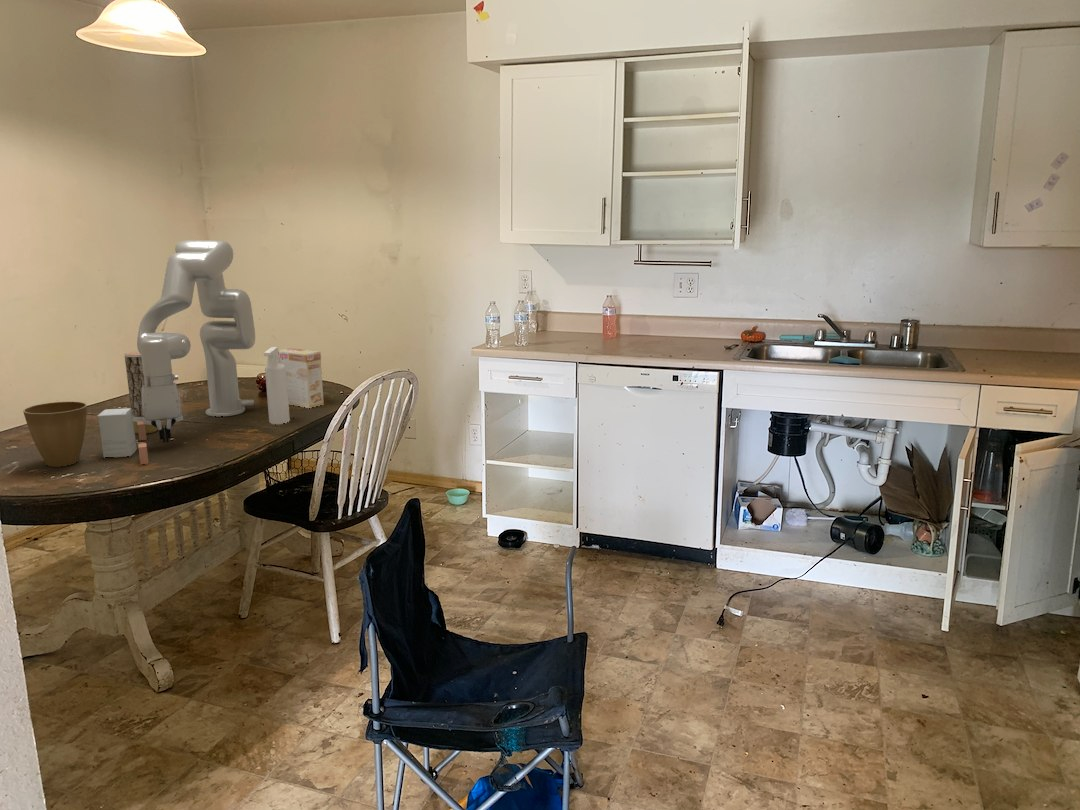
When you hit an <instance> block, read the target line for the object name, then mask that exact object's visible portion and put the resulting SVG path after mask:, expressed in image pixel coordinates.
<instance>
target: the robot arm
mask: <svg viewBox="0 0 1080 810" xmlns="http://www.w3.org/2000/svg"><path fill="white" fill-rule="evenodd" d="M174 249H175V252H174V253H172V254H171V255H170V256H169V257H168V258H167V262H166V268H165V274H164V279H163V285H162V289H161V295H160V298H159V299H158V300H157V301H156V302H155V303H154V304H152V306H151V307H149V308H148V310H146V313H145V314H144V315H143V316H142V318H141V320H140V323H139V327H138V328H139V329H138V333H137V338H136V339H137V340H136V347H137V352H139V353H140V354H141V358H142V367H143V375H144V383H145V385H143V386H142V410H143V415H144V418H143V424H148V425H153V426H154V427H156V428H157V430H158V435H159V440H161V441H162V443H163V444H166V443H169V442H170V440H171V438H172V436H171V435H172V434H171V429H172V427H173V425H174V424H175V423H177V422H180V421H183V420H184V416H183V414H182V404H181V398H180V393H179V388H178V386H177V383H176V382H175V381H176V380H177V381H178V380H179V376H178V374H173V369H172V368H173V367H172V360H179V359H182V358H185V357H187V355H188V354H189V353H190V350H191V346H192V345H191V341H190V339H189V338H188V337H187V335H185V334H183V333H179V332H156V331H157V329H158V327H159V325H160V324H161V323H162V322H163V321H164V320H166V319H167V318H169V317H171V316H173V315H176V314H178V313H180V312H182V311H184V310H187V309H188V308H190V307H191V305H192V302H193V297H194V291H195V285H196V289H197V296H198V301H199V307H200V310H201V313H202V314H203V315H204V316H205V317H206V318H215V319H221V318H222V319H233V320H211V321H209V320H208V321H207V322H205V323H203V324H202V326H201V327H200V329H199V337H200V342H201V345H202V349H203V352H204V353H203V354H204V357H205V366H206V368H205V369H206V378H207V386H208V387H207V388H208V390H207V391H208V398H209V408H207V409H206V410H205V414H206V416H209V417H215V416H216V417H221V416H223V417H231V416H232V417H233V416H237V415H241V414H243V413H244V412H245V411H246V408H245V406H246V407H247V406H255V402H254V401H255V400H254V399H241V397H240V392H239V381H238V371H237V370H238V369H237V362H236V361H237V360H236V358H235V356H234V355H233V354H232V352H231V351H230V350H249V349H251V348H253V347H254V345H255V344H256V329H255V322H254V316H253V307H252V302H251V299H250V296H249V295H248V293H247V291H245V290H243V289H239V288H237V289H236V288H235V289H234V288H232V289H231V288H227V287H226V285H225V280H224V275H223V273H224V272H225V271H226V270H227V269H228V268H229V267H230V266H231V264H232V262H233V259H234V250H233V247H232V245H231V244H230V243H229V242H228V241H225V240H223V239H222V240H220V239H215V240H214V239H211V240H209V239H206V240H205V239H204V240H203V239H186V240H180V241H178V242H177V244H175V248H174ZM162 420H166V421H165V426H163V425H162V422H161V421H162ZM169 439H170V440H169Z"/></svg>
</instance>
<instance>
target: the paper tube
mask: <svg viewBox="0 0 1080 810" xmlns="http://www.w3.org/2000/svg"><path fill="white" fill-rule="evenodd" d="M124 362H125V370H126V379H127V388H128V395H129V402H130V403H129V404H130V408H131V409H132V417H133V424H134V432H135V434H137V435H139V434H138V425H137V422H139V421H143V418H144V415H143V410H142V386H143V385H145V383H144V375H143V367H142V358H141V354H140V353H139V351H131V352H125V353H124ZM145 429H146V435H148V434H153V433H155V432H157V430H158V429H157V428H156V427H154V426H153V425H148V424H145Z"/></svg>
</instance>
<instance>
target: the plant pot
mask: <svg viewBox="0 0 1080 810" xmlns="http://www.w3.org/2000/svg"><path fill="white" fill-rule="evenodd" d="M87 409H88V404H87V403H86V402H81V401H56V402H46V403H40V404H35V405H32V406H28V407H25V408H24V409H23V410H22V412H23V415H24V416H23V417H24V418H25V421H26V425H27V429H28V431H29V432H30V435H31V437H32V440H33V442H34V444H35V447H36V449H37V451H38V453H39V454H40V455H41V457H42V459H43V461H44V462H45V464H46V466H47V465H48V467H50V466H51V468H61V466H63V467H68V466H67V465H69V466H72V465H71V464H73V465H75V464H77V463H78V462H79V460H80V457H81V452H82V448H83V444H84V439H85V434H86V433H85V432H86V426H87V413H88V412H87ZM76 462H77V463H76ZM74 463H75V464H74Z"/></svg>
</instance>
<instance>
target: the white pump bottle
mask: <svg viewBox="0 0 1080 810" xmlns="http://www.w3.org/2000/svg"><path fill="white" fill-rule="evenodd" d="M278 350H279V347H278V346H271V347H270V348H268V349H267V350H266V351H264V352H263V356H264V357H267V360H266V366H265V368H264V371H265V373H264V374H265V384H266V385H265V387H266V398H267V409H268V411H267V412H268V423H269V422H270V423H271V424H270V423H269V424H270V425H275V424H276V425H284V424H283V423H285V424H288V423H290V422H291V419H290V407H289V406H290V405H289V403H288V389H287V375H286V368H285V366H284V365H283V364H282V362H281V357H280V356H279V355H278V352H279V351H278ZM278 358H279V360H278ZM289 421H290V422H289ZM287 422H288V423H287Z"/></svg>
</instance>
